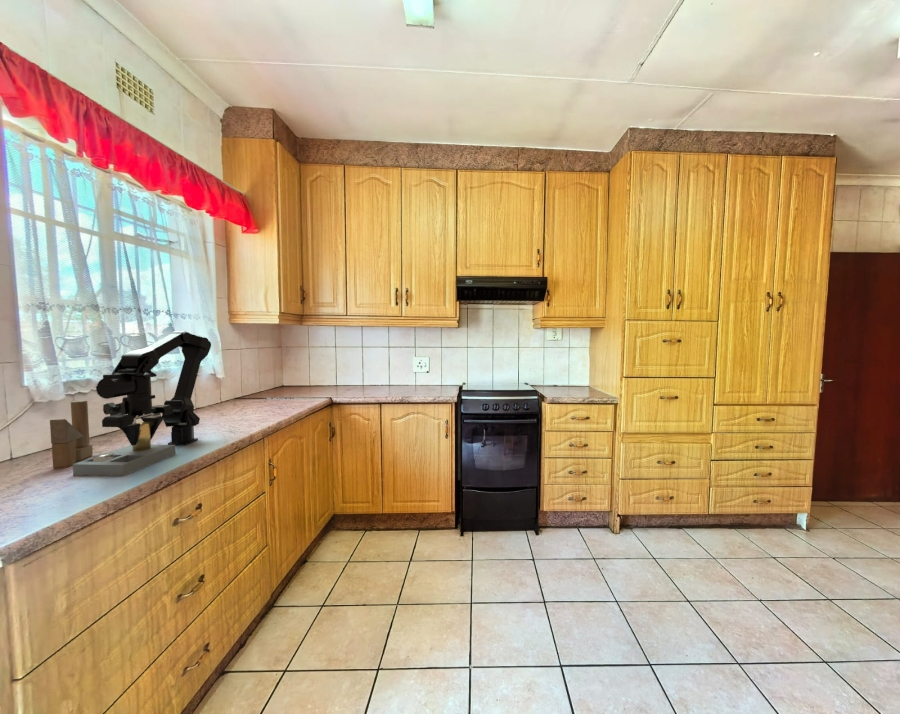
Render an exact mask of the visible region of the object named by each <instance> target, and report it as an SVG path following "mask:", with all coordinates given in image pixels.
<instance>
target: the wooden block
mask: <svg viewBox="0 0 900 714" xmlns="http://www.w3.org/2000/svg"><path fill="white" fill-rule="evenodd" d="M88 407H89V406H88V400H86V399H79V400H72V401H71V402H70V414H71V423H70V422H69V421H68V419H65V418H62V419H61V418H60V419H50V420H49V428H50V444H51V452H52V453H51V454H52V455H51V457H52V458H51V459H52V467H53V469H58V468H59V469H60V468H69V467H71V466H73V464H75V463H78V462H81V461H84V460H86V459H88V458H89V457H91V456H94V455H93V454H94V452H93V444H91V443H90V428H89V427H90V426H89V425H90V424H89V411H88V410H89V408H88Z"/></svg>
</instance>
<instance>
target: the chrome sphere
mask: <svg viewBox="0 0 900 714" xmlns="http://www.w3.org/2000/svg"><path fill="white" fill-rule="evenodd" d="M92 458H93V462H104V461H107V460H110V459H113V458H114V453H108V452H103V453H98V454H95V455H92Z"/></svg>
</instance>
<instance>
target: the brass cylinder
mask: <svg viewBox="0 0 900 714" xmlns="http://www.w3.org/2000/svg"><path fill="white" fill-rule="evenodd" d="M138 423H140V429H139V434H138V439H137V443H136V445H132V451H143V450H147V449H150V448H151V444H152V443H151V442H152V441H151V440H152V439H151V435H150V422H143V421H141V422H140V421H139V422H138Z"/></svg>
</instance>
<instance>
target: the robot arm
mask: <svg viewBox="0 0 900 714" xmlns="http://www.w3.org/2000/svg"><path fill="white" fill-rule="evenodd" d="M211 347H212V343H211V341H210V340H209V339H208V338H207V337H205V336H200V335H196V334H192V333H190V332H188V331H185V330H184V331H182V330H181V331H180V330H179V331H175V330H174V331H172V332H170V334H168V335H167V336H164V337H163V338H161V339H159V340H157V341H156V342H154V343H152V344H151V345H149V346H146V347H144V348H139V349H134V350H131V351H128V352H127V351H126V352H125V353H123V354H122V355H121V357H120V360H119V361H118V363H117V365H116V366H115V368H114V369H113V371H112V372H111V373H110V374H108V373H107V374H106V373H105V374H103V375H102V379H100V380H99V381H98V382H97V384H96V386H95V390H96V393H97V395H98V396H99V397H100V398H102V399H105V400H106V399H107V400H108V399H113V398H118V397H122V399H121V400H122V402H119V403H114V402H108V403H105V404H103V405H102V411H103V413H104V415H106V416H104V418H103V419H102V420H101V427H102V428H118V429H120V430H121V431H122V432H123V433H124V435H125V436H126V438H127V440H128V442H129V444H130V445H136V443H137V439H138V434H139V429H140V423H139V422H137V420H140V419H141V422H150V435H151V440H152V439H153V437H154V436H155V433H156V432H157V430H158V429H159V426H160V425H161V423H162V421H163V422H164V424H165V427H166V428H168V427H170V428H171V432H170V435H171V436H170V437H171V439H170V440H171V441H170V442H168V443H167V445H175V446H185V445H188V444H191V443H194V442H196V441H198V440H199V438H198V437H195V432H194V431H195V429H194V428H195V427H196V426H198V425H199V424H200V416H198V415H197V414H196V413H195V411H194V409H195V406H194V403H193V401H192V397H193V393H194V388H195V385H196V382H197V377H198V373H199V370H200V366H201V363H202V361H203V360H204V359H205V358H206V357H207V356H208V355H209V353H210V350H211ZM177 348H181V353H182V355H183V357H184V360H183V363H182V367H181V370H180V374H179V378H178V382H177V385H176V389H175V392H174V396H172V398H171V399H170V400H167V399H166V400H165V401H164V403H163V404H156V405H153V402H152V401H153V399H156V395H155V394H152V379H151V378H155V377H157V376H158V375H157V373H155V372H153V371H152V370H153V369H154V368H155V367H156V366H157V365H159V361H160V359H161V358H163V357H164V356H166V355H167V354H169V353H170V352H173V351H174V350H175V349H177ZM108 415H109V416H108Z"/></svg>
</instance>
